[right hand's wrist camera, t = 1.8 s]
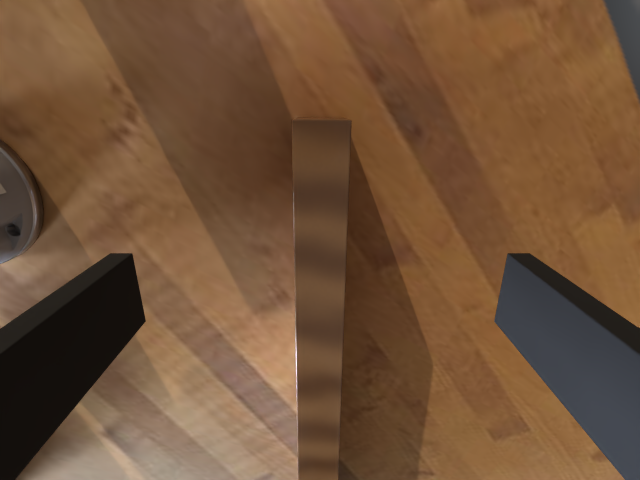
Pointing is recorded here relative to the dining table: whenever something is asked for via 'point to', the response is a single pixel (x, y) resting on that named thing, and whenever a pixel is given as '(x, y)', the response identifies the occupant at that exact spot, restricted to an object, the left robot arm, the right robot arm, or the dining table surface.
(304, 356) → the bar
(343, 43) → the dining table surface
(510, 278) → the right robot arm
